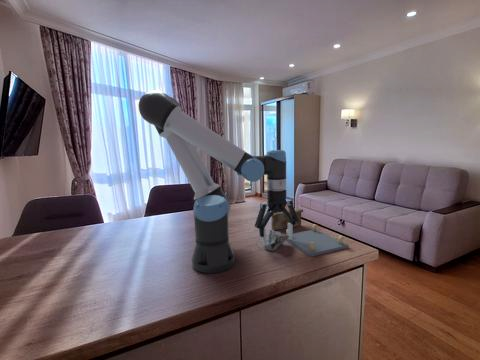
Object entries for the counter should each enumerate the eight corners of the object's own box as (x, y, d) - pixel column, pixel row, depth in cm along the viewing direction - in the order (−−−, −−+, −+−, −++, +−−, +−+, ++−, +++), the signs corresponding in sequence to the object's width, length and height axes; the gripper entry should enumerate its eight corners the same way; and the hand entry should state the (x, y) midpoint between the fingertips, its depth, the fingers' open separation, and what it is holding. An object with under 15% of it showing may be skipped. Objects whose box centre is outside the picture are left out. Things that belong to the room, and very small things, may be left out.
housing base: (310, 256, 91) (311, 245, 91) (282, 238, 110) (282, 229, 109) (348, 247, 98) (348, 237, 97) (315, 231, 116) (315, 223, 116)
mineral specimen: (269, 256, 104) (287, 258, 96) (256, 247, 101) (273, 248, 93) (277, 236, 108) (294, 235, 100) (264, 226, 105) (281, 225, 97)
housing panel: (274, 231, 118) (274, 214, 116) (271, 229, 120) (271, 212, 119) (303, 226, 123) (303, 210, 122) (299, 224, 126) (299, 208, 125)
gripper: (253, 194, 91) (254, 250, 94) (307, 187, 99) (307, 239, 103) (245, 190, 98) (246, 243, 101) (296, 185, 106) (296, 233, 110)
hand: (277, 241), depth 102 cm, fingers open, 12 cm apart
